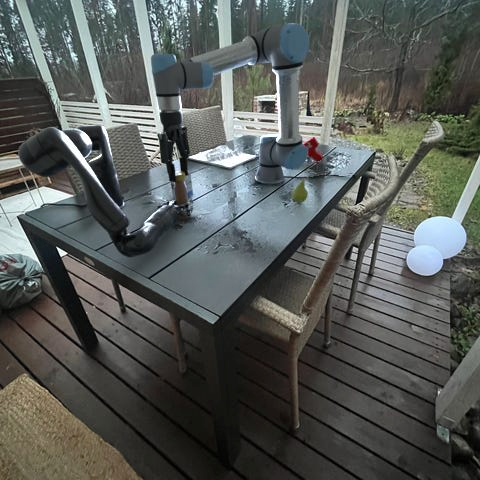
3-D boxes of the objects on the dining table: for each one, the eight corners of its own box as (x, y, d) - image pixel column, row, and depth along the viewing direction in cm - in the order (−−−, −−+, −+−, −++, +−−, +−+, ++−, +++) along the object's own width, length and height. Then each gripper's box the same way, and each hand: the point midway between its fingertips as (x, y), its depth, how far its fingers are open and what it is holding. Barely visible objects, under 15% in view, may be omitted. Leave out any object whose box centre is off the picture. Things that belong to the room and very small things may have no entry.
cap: (178, 175, 104) (178, 170, 103) (187, 178, 102) (187, 172, 101) (170, 179, 101) (169, 174, 100) (179, 181, 99) (178, 176, 98)
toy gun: (326, 156, 168) (314, 136, 164) (326, 158, 165) (313, 137, 161) (301, 172, 178) (289, 152, 174) (300, 174, 175) (288, 154, 171)
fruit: (288, 200, 123) (290, 174, 116) (302, 197, 125) (305, 172, 119) (296, 206, 118) (299, 179, 111) (310, 203, 120) (314, 177, 114)
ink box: (187, 192, 132) (184, 168, 125) (193, 195, 129) (190, 170, 122) (172, 197, 127) (168, 172, 120) (178, 200, 124) (174, 175, 117)
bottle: (191, 217, 110) (187, 175, 100) (181, 220, 108) (175, 177, 98) (187, 213, 113) (181, 171, 104) (176, 216, 111) (170, 174, 101)
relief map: (229, 168, 161) (229, 160, 158) (188, 158, 179) (187, 150, 176) (255, 158, 179) (255, 150, 177) (215, 150, 197) (215, 142, 194)
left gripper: (180, 212, 92) (200, 193, 105) (143, 207, 95) (168, 189, 109) (183, 231, 96) (202, 210, 110) (147, 225, 99) (170, 206, 113)
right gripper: (178, 106, 98) (185, 169, 110) (140, 114, 83) (153, 185, 95) (196, 107, 95) (201, 171, 108) (159, 115, 80) (171, 188, 93)
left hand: (185, 200), depth 109 cm, fingers closed on bottle, 4 cm apart
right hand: (179, 177), depth 102 cm, fingers open, 7 cm apart
